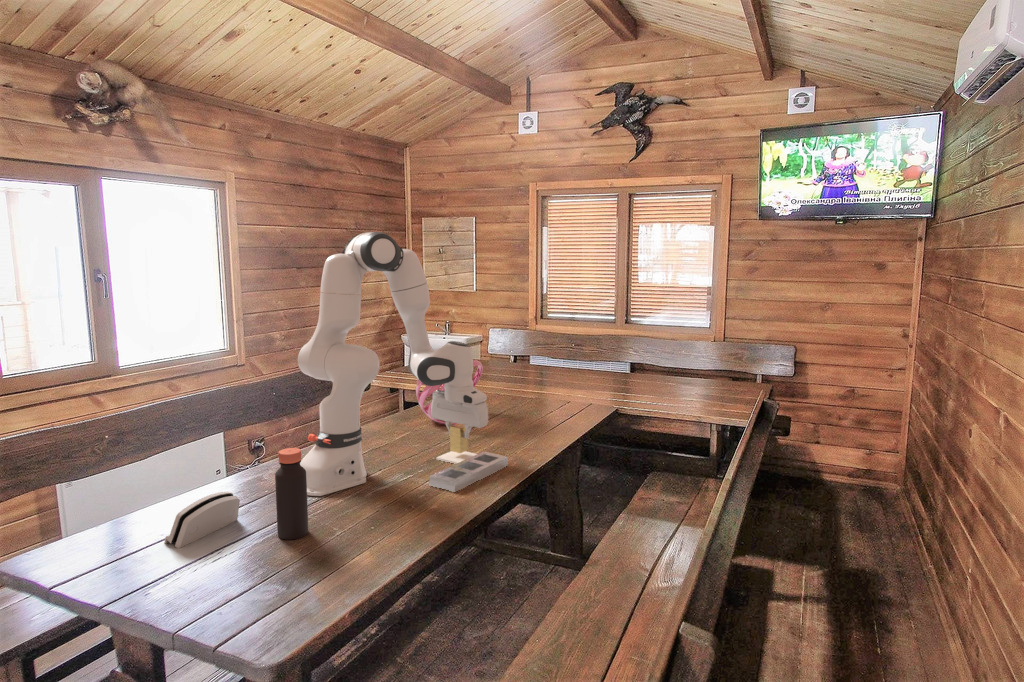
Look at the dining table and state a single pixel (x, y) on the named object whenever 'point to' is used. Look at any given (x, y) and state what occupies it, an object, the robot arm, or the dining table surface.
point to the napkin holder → (203, 518)
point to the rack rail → (468, 471)
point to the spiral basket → (430, 390)
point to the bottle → (291, 495)
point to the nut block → (458, 438)
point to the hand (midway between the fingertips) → (458, 436)
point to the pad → (455, 457)
